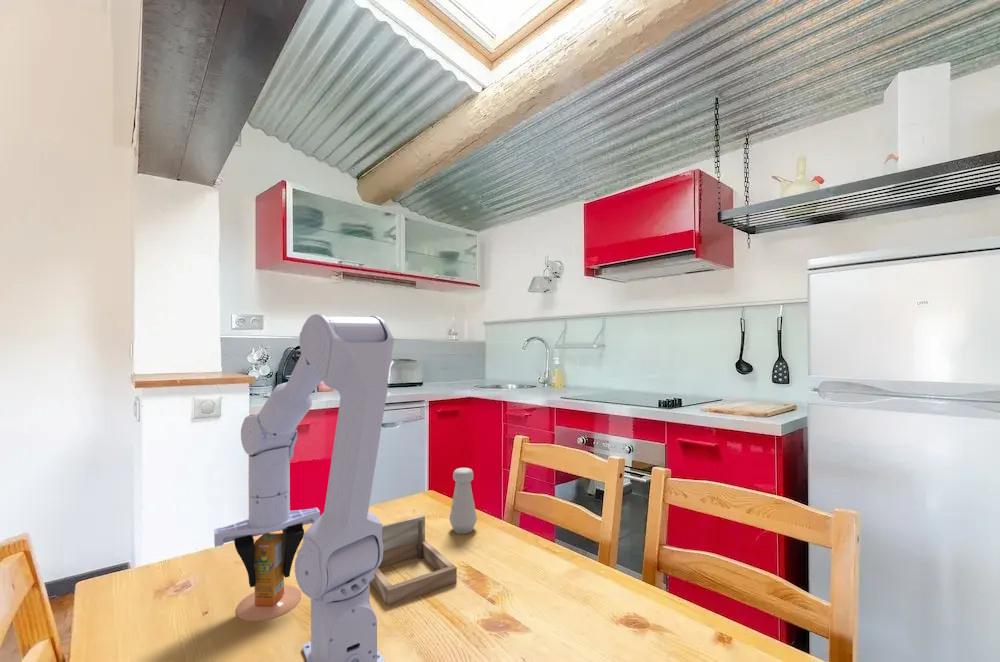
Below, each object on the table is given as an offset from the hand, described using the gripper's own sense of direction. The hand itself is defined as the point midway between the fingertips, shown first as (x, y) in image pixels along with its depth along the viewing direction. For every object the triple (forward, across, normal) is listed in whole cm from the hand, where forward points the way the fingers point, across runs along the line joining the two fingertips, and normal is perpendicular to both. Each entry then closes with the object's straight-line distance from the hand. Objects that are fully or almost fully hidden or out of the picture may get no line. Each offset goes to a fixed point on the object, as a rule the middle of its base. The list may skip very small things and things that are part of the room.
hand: (269, 579), depth 70 cm
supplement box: (+4, 0, 0) cm, 4 cm away
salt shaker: (+4, -38, -6) cm, 39 cm away
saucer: (+4, 0, 0) cm, 4 cm away
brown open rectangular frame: (+4, -21, +4) cm, 22 cm away
